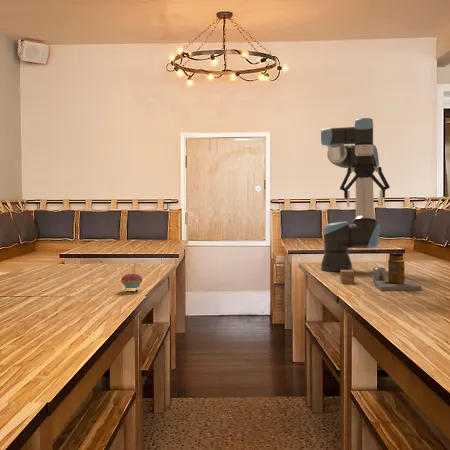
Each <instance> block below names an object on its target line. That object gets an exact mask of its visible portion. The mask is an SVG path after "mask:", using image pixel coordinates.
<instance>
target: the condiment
mask: <svg viewBox="0 0 450 450" xmlns="http://www.w3.org/2000/svg"><path fill="white" fill-rule="evenodd" d="M388 254H389V255H388V260H387V261H388V262H387V263H388V267H387V268H388V269H387V270H388V271H387V272H388V280H387V281H389V282H381V283H383V284H388V285H400V284H408V283H406V282H404V280H405V259H404V253H403V252H389V253H388Z"/></svg>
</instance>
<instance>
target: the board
mask: <svg viewBox="0 0 450 450" xmlns="http://www.w3.org/2000/svg"><path fill="white" fill-rule="evenodd" d="M381 282H389V281H388V280H386V281H374V283H373V285H374V286H376V288H378V290H380V291H383V290H384V291H422V289H423V286H422V285H420V284H419V283H417V282H415V281H414V280H413V279H412V280H411V279H409V280H407V279H406V280H405V279H404V282H406V283H408V284H400V285H388V284H383V283H381Z"/></svg>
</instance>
